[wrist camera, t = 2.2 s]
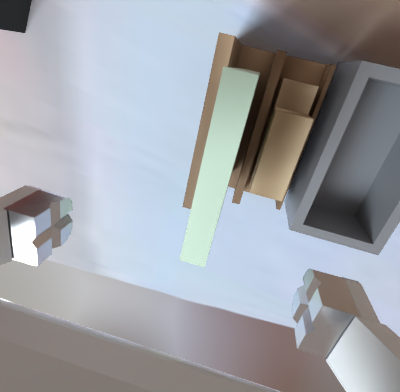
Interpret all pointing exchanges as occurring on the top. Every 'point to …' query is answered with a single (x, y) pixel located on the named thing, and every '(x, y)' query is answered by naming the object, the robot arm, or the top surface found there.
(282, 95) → the offcut lower
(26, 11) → the cleaning product box
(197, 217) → the sheet
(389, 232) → the bin
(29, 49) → the top surface
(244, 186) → the rack
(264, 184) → the offcut upper
